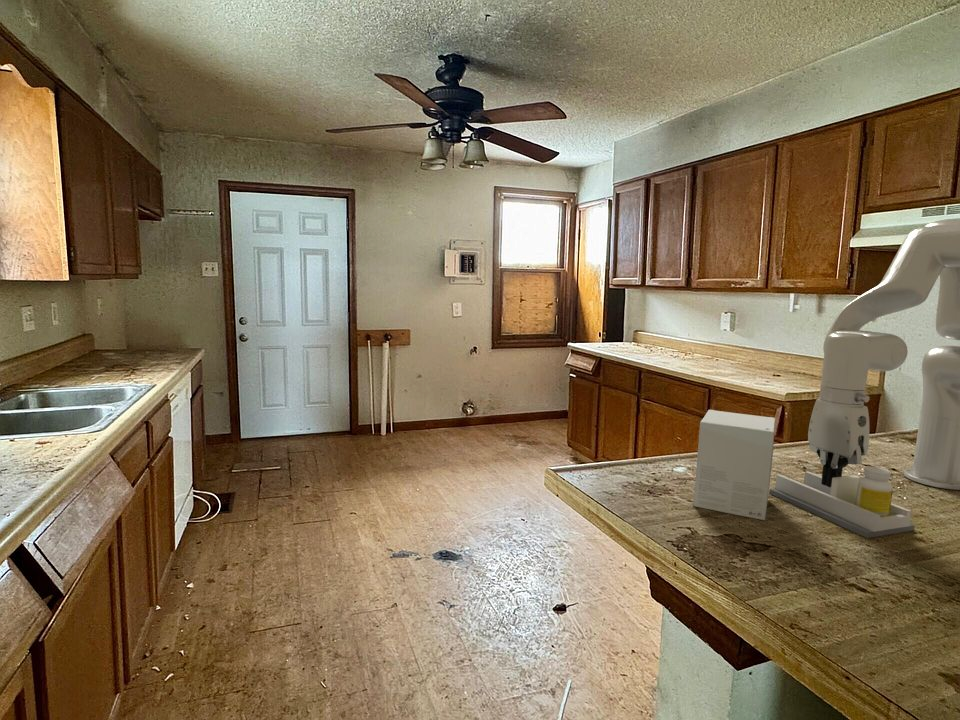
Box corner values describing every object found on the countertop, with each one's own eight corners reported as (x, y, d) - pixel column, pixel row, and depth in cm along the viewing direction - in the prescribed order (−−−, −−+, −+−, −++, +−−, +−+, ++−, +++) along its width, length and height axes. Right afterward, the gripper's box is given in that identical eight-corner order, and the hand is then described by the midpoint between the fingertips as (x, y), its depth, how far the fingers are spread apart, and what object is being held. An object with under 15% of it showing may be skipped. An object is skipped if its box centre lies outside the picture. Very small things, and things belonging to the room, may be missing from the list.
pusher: (851, 503, 115) (854, 475, 114) (856, 506, 114) (860, 477, 113) (828, 507, 113) (832, 477, 112) (834, 509, 112) (837, 479, 111)
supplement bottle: (894, 527, 105) (901, 475, 104) (862, 524, 106) (868, 473, 105) (879, 515, 111) (885, 466, 109) (848, 512, 112) (854, 463, 110)
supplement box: (768, 499, 120) (776, 417, 118) (765, 521, 109) (775, 431, 106) (700, 486, 126) (707, 408, 124) (691, 506, 115) (699, 421, 112)
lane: (811, 488, 127) (813, 470, 127) (914, 530, 107) (917, 509, 106) (769, 493, 123) (771, 475, 123) (867, 538, 103) (870, 516, 102)
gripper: (892, 403, 108) (880, 497, 110) (822, 388, 122) (812, 471, 124) (864, 405, 105) (851, 501, 108) (795, 389, 119) (785, 474, 122)
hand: (830, 485), depth 116 cm, fingers closed
